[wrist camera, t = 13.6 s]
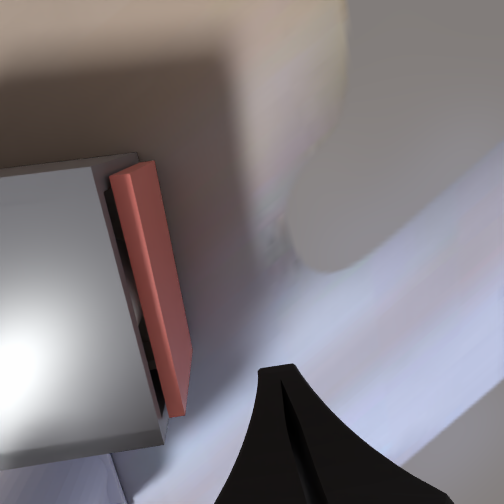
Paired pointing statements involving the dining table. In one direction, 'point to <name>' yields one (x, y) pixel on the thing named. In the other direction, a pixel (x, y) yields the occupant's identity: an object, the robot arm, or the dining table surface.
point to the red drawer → (153, 278)
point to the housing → (69, 321)
